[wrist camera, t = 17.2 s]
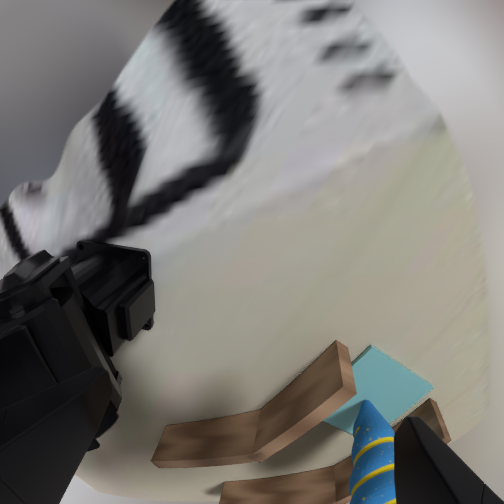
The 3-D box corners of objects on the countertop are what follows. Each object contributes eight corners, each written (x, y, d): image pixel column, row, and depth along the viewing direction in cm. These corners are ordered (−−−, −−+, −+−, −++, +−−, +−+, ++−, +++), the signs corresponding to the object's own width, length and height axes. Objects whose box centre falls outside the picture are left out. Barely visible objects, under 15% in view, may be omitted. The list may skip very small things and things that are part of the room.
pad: (365, 437, 25) (366, 440, 24) (300, 406, 24) (300, 410, 24) (432, 385, 22) (433, 387, 22) (370, 344, 21) (371, 347, 21)
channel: (174, 473, 31) (163, 503, 27) (156, 311, 23) (127, 348, 18) (367, 494, 29) (369, 524, 24) (464, 348, 20) (488, 385, 16)
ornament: (399, 378, 22) (452, 538, 7) (387, 418, 23) (420, 561, 9) (338, 384, 22) (360, 562, 8) (332, 424, 24) (343, 577, 10)
